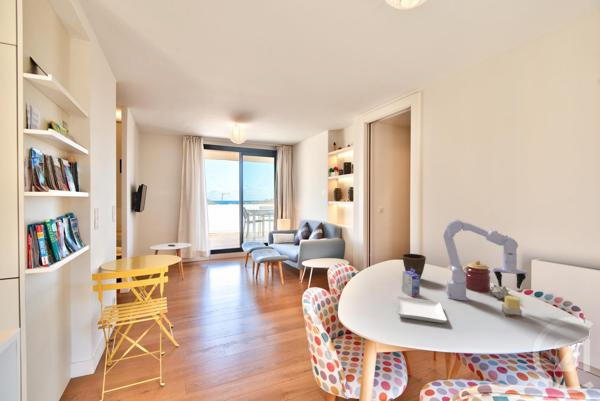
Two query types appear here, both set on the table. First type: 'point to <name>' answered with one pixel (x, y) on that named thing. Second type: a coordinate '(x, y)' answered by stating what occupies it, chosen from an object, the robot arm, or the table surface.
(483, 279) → the canister
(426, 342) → the table surface
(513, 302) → the mustard cube
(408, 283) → the ink cartridge box
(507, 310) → the tower top slab
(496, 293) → the game die
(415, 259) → the plant pot
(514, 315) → the tower base slab
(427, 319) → the salad plate
